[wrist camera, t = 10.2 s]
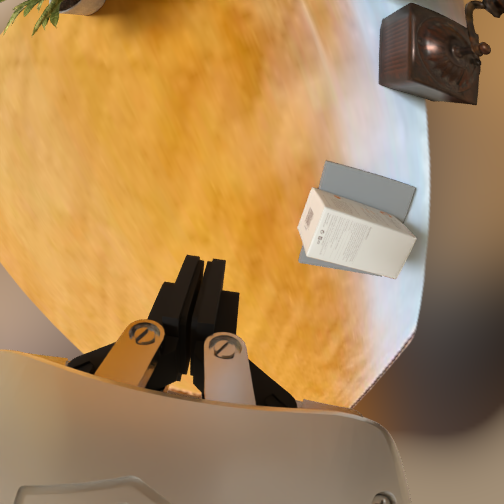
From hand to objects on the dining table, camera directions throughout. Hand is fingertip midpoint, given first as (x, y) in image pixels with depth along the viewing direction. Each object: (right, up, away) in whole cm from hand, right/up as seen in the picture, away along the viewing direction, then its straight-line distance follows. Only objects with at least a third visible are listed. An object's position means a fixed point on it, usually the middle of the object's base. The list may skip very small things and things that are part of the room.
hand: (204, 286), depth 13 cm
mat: (+17, +6, +28) cm, 33 cm away
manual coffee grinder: (+24, +30, +15) cm, 41 cm away
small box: (+9, +6, +23) cm, 25 cm away
